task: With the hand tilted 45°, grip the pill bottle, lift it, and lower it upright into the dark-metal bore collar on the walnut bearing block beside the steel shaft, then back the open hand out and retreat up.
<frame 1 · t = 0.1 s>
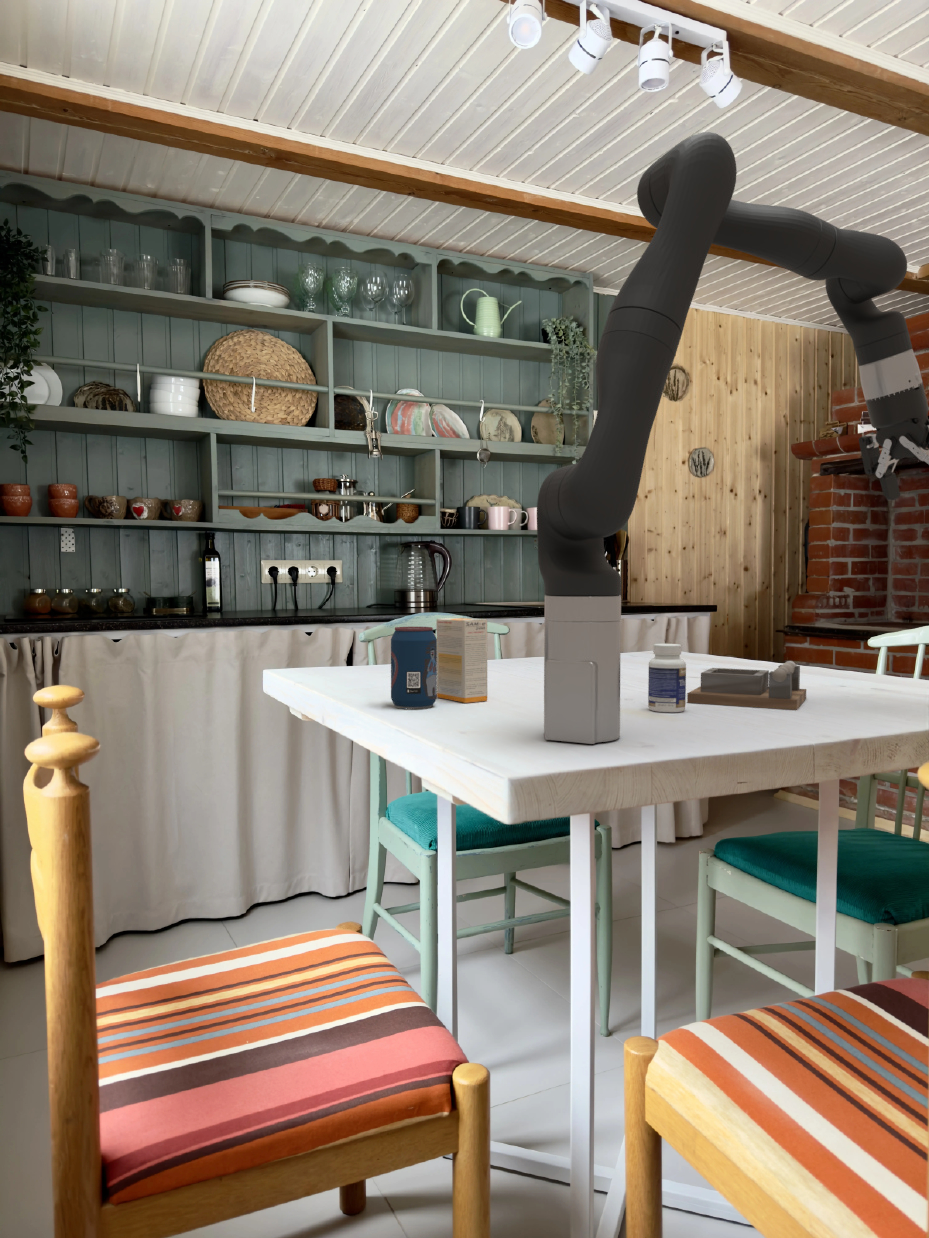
hand: (919, 496, 124), 31 cm above the table, tool tilted 20°, fingers open, 8 cm apart
supplement box: (461, 700, 136), on the table
pill bottle: (666, 711, 124), on the table
bearing block: (747, 700, 134), on the table
soda can: (413, 707, 128), on the table
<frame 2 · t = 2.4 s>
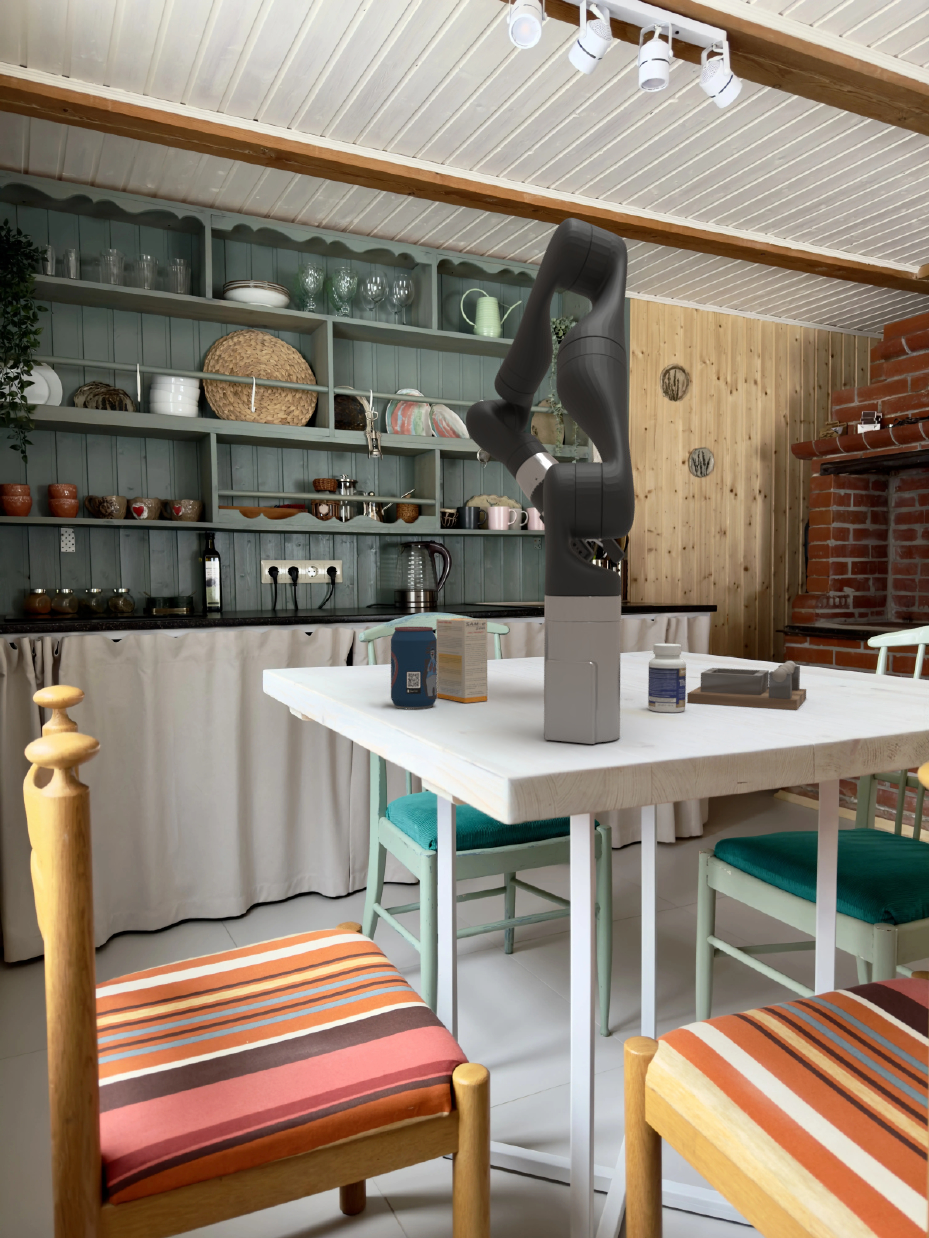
hand: (605, 559, 131), 22 cm above the table, tool tilted 45°, fingers open, 8 cm apart
nothing on the table moved.
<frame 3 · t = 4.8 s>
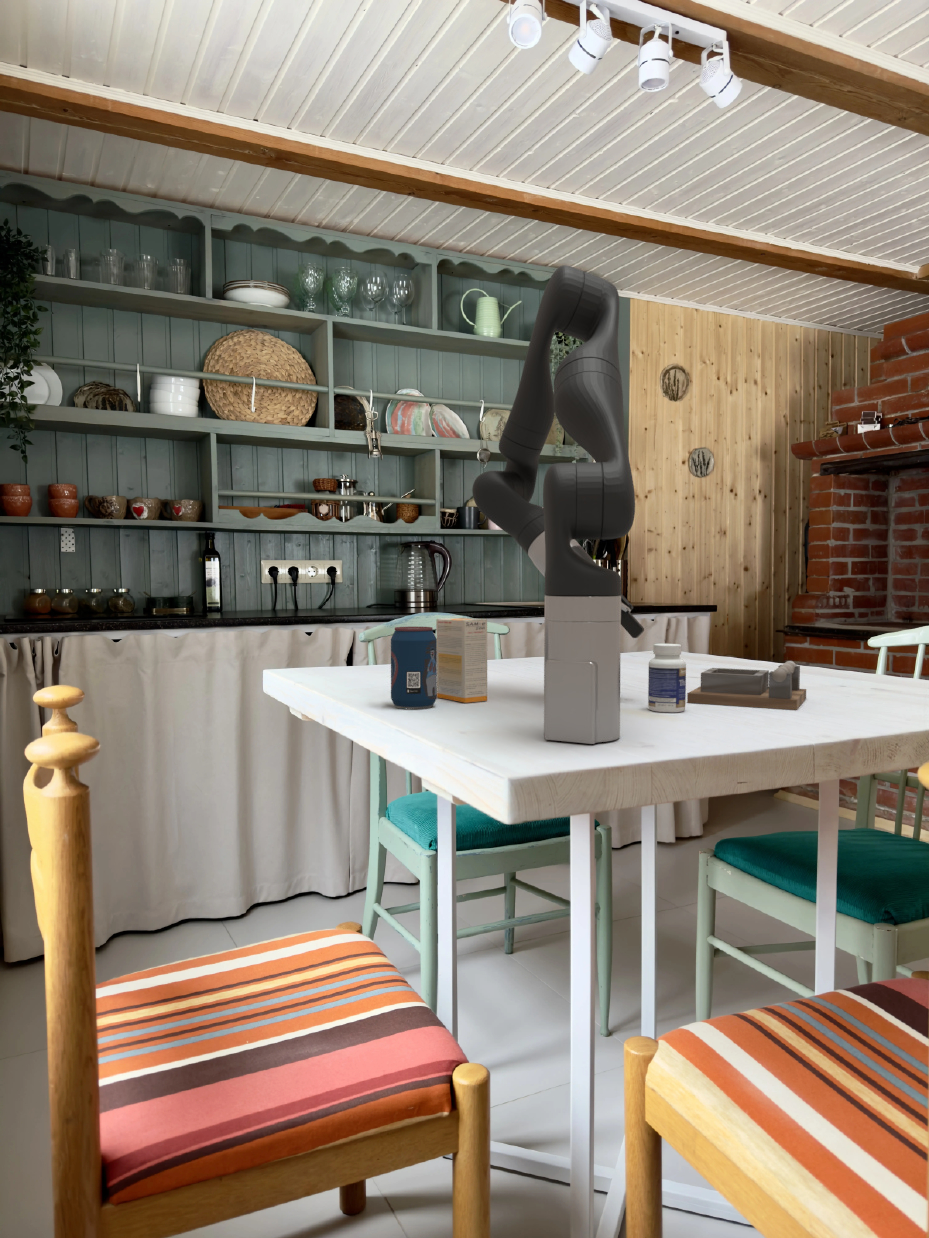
hand: (627, 635, 128), 11 cm above the table, tool tilted 45°, fingers open, 8 cm apart
nothing on the table moved.
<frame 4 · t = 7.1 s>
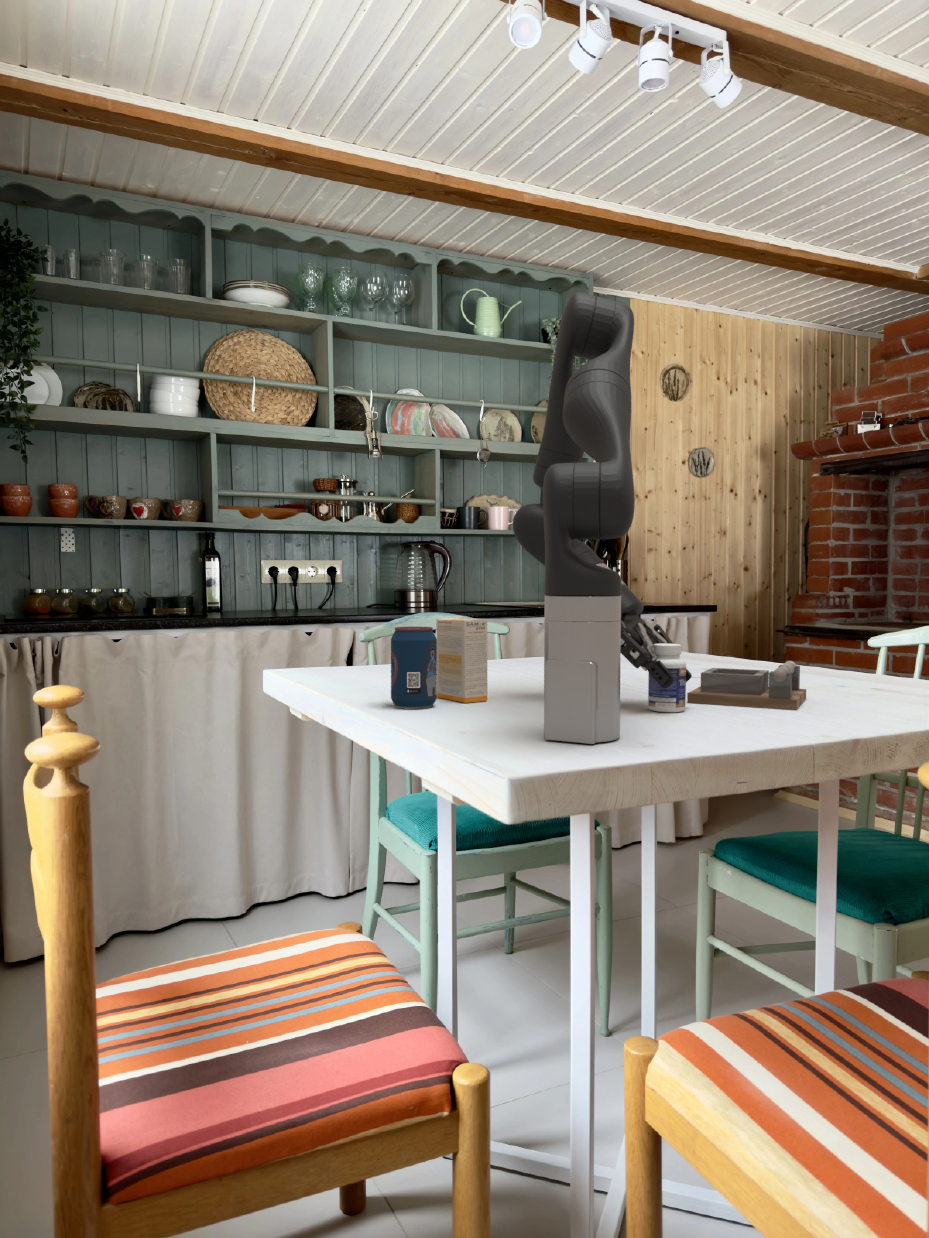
hand: (678, 682, 123), 4 cm above the table, tool tilted 45°, fingers closed on pill bottle, 5 cm apart
pill bottle: (666, 711, 124), on the table, touching gripper
everything else where it was.
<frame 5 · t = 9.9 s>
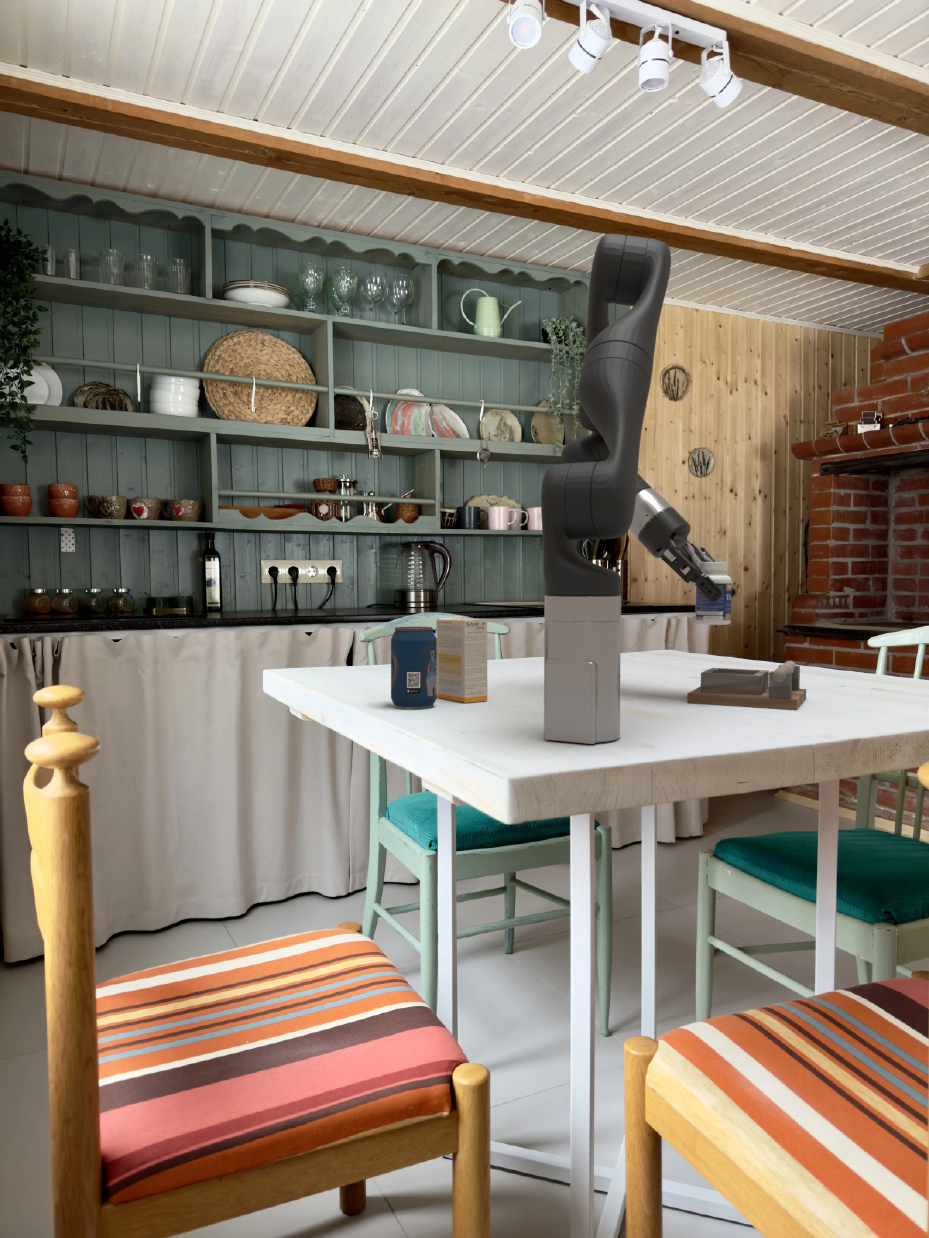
hand: (725, 597, 131), 16 cm above the table, tool tilted 45°, fingers closed on pill bottle, 5 cm apart
pill bottle: (713, 625, 132), point 12 cm above the table, touching gripper
everything else where it was.
when the fingers open (7 cm above the table, at t = 12.9 s): pill bottle drops 1 cm, resting on bearing block.
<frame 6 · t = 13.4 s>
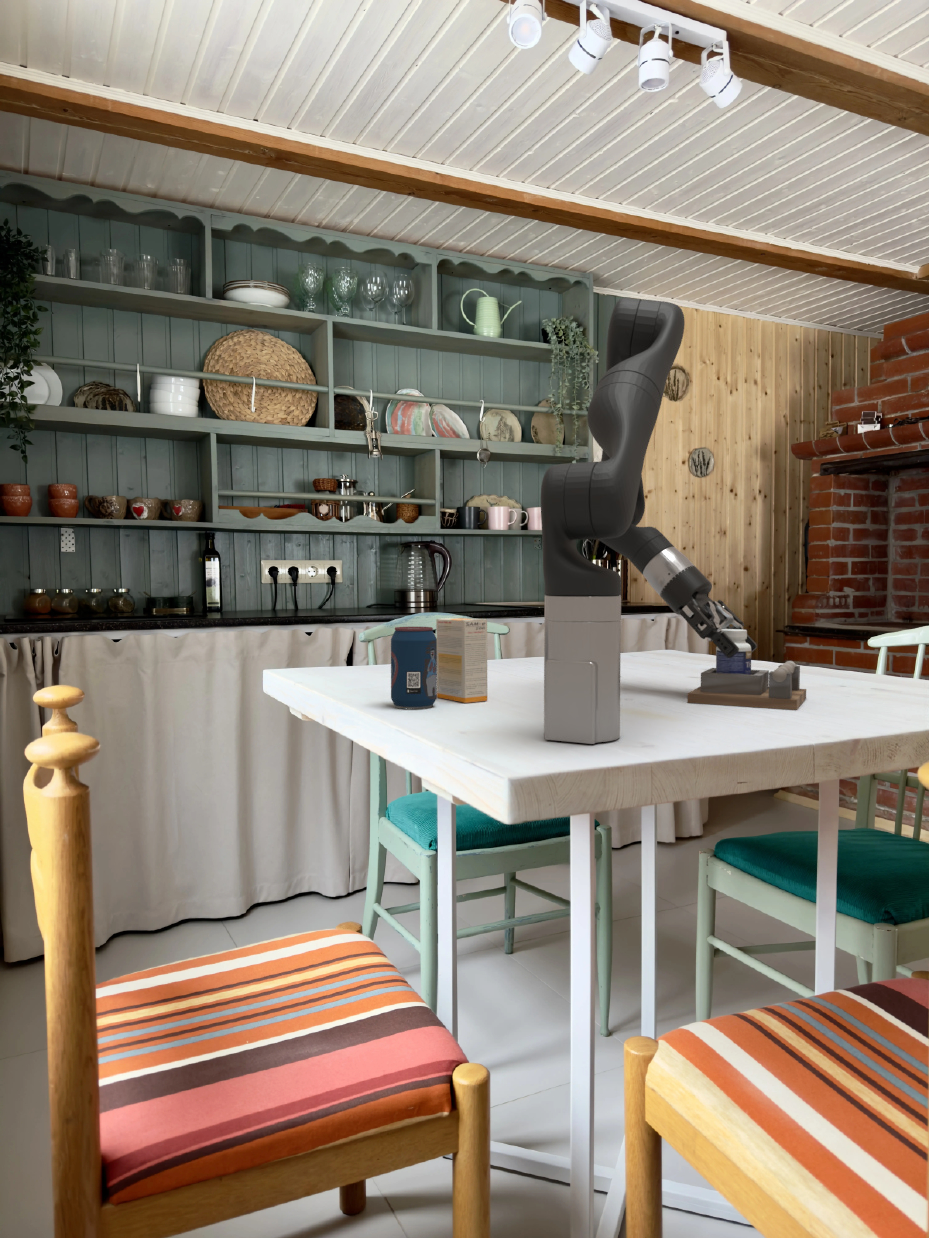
hand: (743, 652, 134), 8 cm above the table, tool tilted 45°, fingers open, 8 cm apart
pill bottle: (733, 691, 135), point 1 cm above the table, touching bearing block
everything else where it was.
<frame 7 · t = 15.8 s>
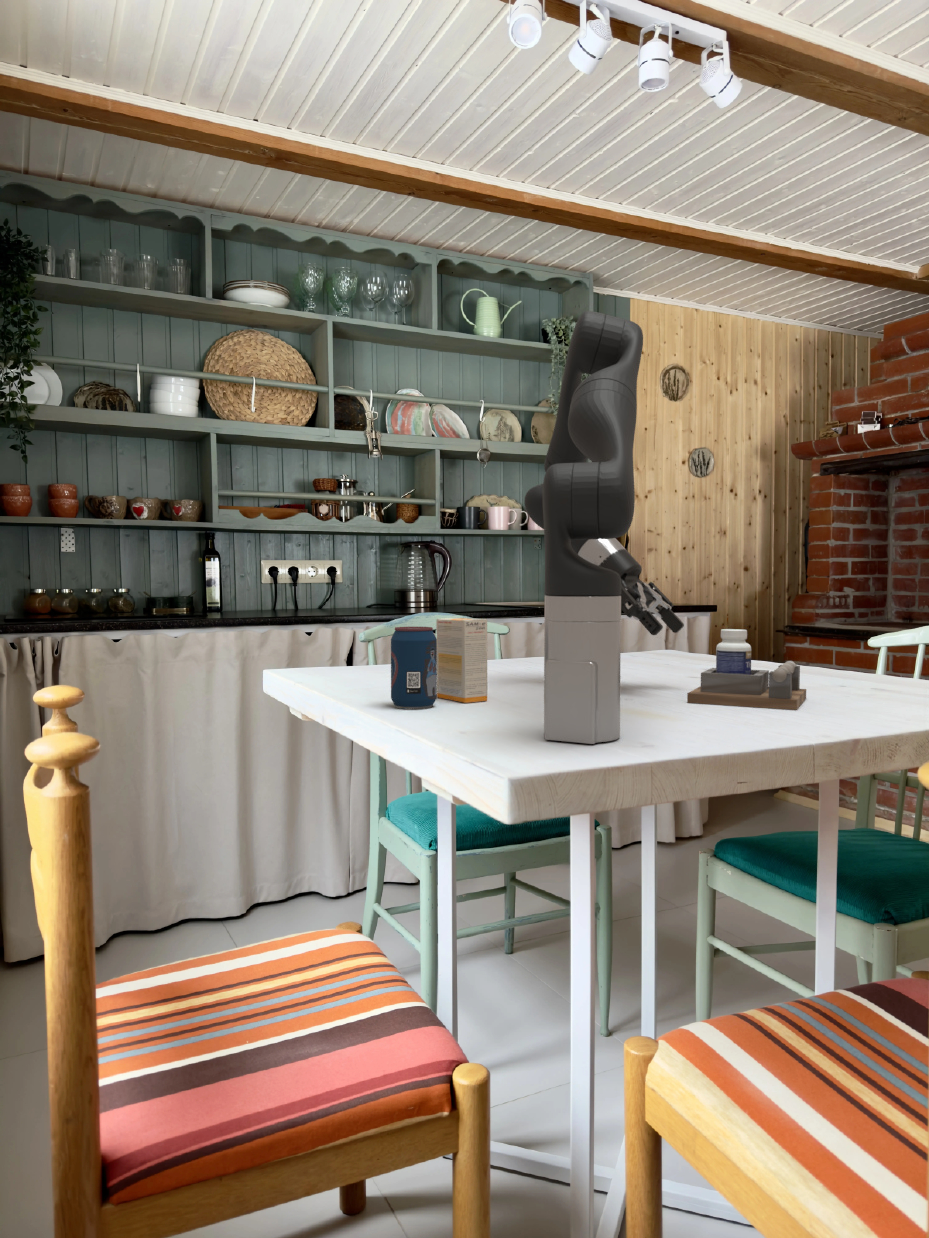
hand: (669, 630, 142), 11 cm above the table, tool tilted 45°, fingers open, 8 cm apart
nothing on the table moved.
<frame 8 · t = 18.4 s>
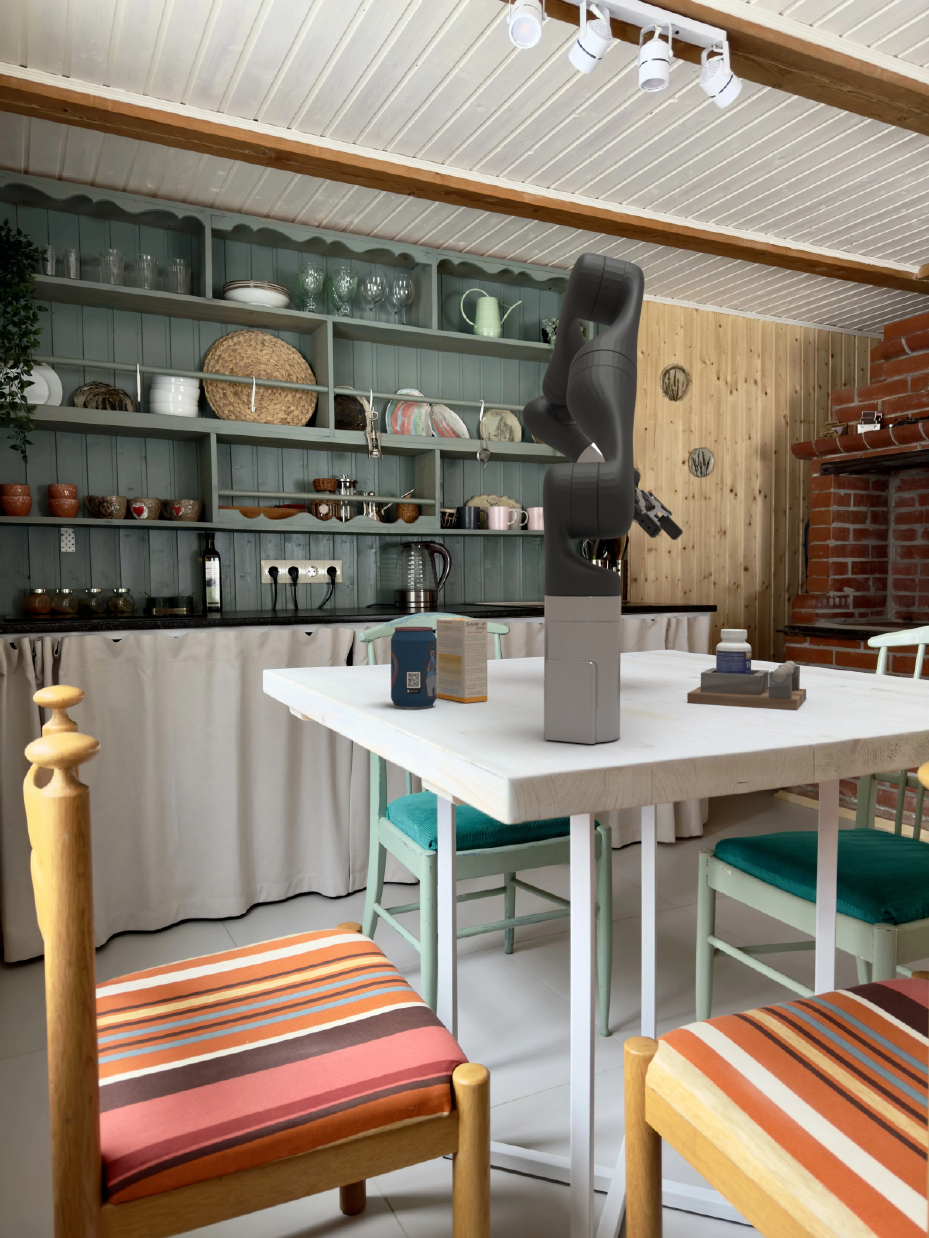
hand: (668, 535, 141), 27 cm above the table, tool tilted 45°, fingers open, 8 cm apart
nothing on the table moved.
at the end: pill bottle 0.4 cm from the target spot on the bearing block, point 1.3 cm above the bearing block's base; pill bottle tilted 0°; the gripper is holding nothing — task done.
